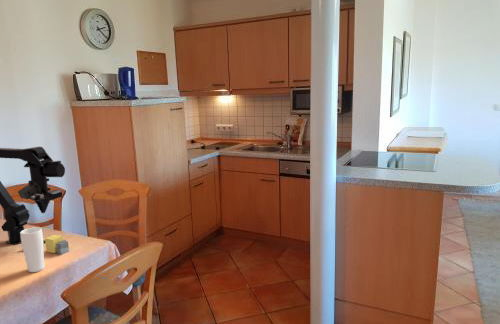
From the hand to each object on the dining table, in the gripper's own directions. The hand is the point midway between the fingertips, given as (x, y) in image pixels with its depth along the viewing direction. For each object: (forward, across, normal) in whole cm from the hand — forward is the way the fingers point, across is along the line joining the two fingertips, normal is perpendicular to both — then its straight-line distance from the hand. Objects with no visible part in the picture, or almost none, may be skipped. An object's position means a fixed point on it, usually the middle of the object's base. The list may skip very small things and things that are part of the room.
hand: (43, 212), depth 155 cm
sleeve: (+13, +12, -6) cm, 18 cm away
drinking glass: (+13, +19, -20) cm, 31 cm away
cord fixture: (+13, +8, -6) cm, 16 cm away
